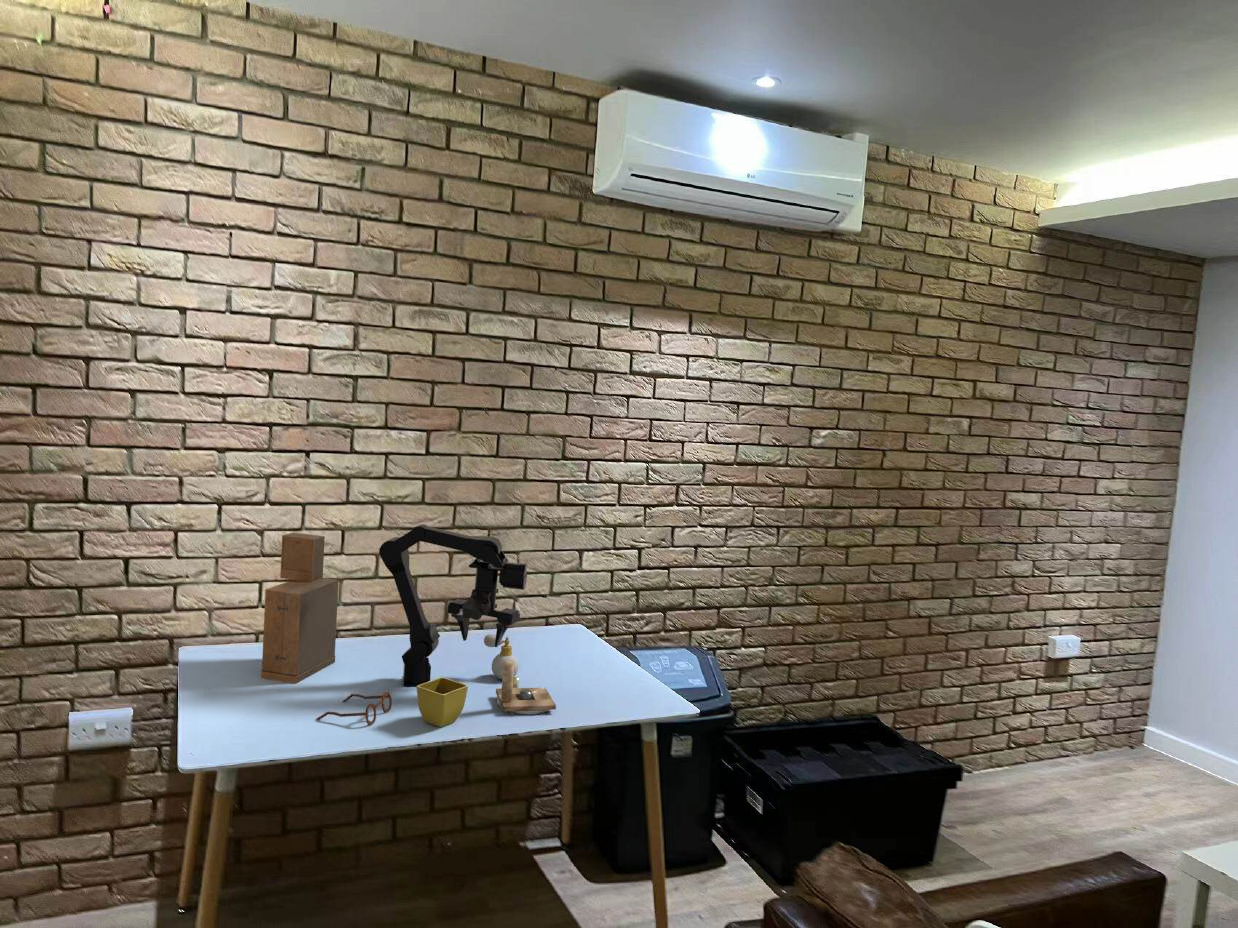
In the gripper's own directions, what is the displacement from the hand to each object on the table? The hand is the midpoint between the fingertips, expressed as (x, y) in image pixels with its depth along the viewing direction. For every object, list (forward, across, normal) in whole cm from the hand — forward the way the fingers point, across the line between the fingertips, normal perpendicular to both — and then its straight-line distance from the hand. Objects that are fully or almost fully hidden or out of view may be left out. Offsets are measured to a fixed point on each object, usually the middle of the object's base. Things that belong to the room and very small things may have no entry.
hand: (480, 643), depth 233 cm
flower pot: (+12, +3, -25) cm, 28 cm away
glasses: (+13, -16, -30) cm, 37 cm away
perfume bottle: (+12, +2, +10) cm, 16 cm away
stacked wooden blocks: (+14, -48, -10) cm, 51 cm away
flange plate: (+11, +16, -5) cm, 20 cm away
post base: (+12, +15, -4) cm, 20 cm away
